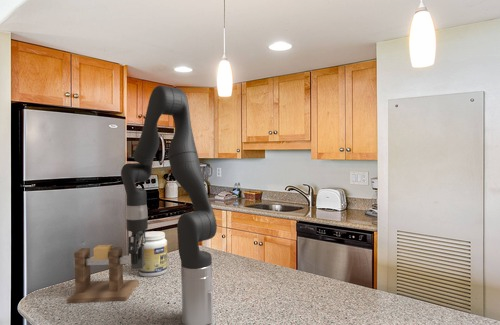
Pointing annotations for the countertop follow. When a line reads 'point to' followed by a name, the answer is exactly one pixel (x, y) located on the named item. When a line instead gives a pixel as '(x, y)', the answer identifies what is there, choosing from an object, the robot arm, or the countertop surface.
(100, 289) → the wooden shaft stand
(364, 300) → the countertop surface
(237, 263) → the countertop surface
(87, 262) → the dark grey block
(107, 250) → the ochre spacer
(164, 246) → the supplement tub
